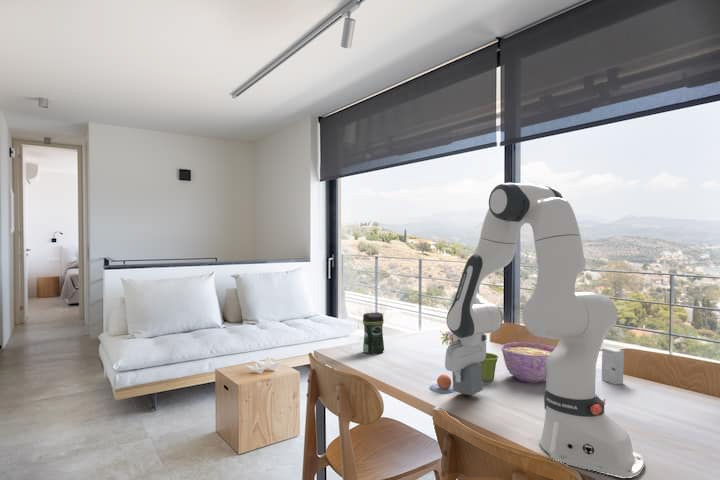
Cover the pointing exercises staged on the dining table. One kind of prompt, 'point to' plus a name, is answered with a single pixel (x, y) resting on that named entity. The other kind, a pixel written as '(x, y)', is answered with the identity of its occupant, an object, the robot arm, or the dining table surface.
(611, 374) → the skincare box
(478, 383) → the grey upright box
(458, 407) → the dining table surface
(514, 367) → the bowl of food
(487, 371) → the plant pot
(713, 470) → the dining table surface
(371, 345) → the coffee jar
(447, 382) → the ball
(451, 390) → the circle
